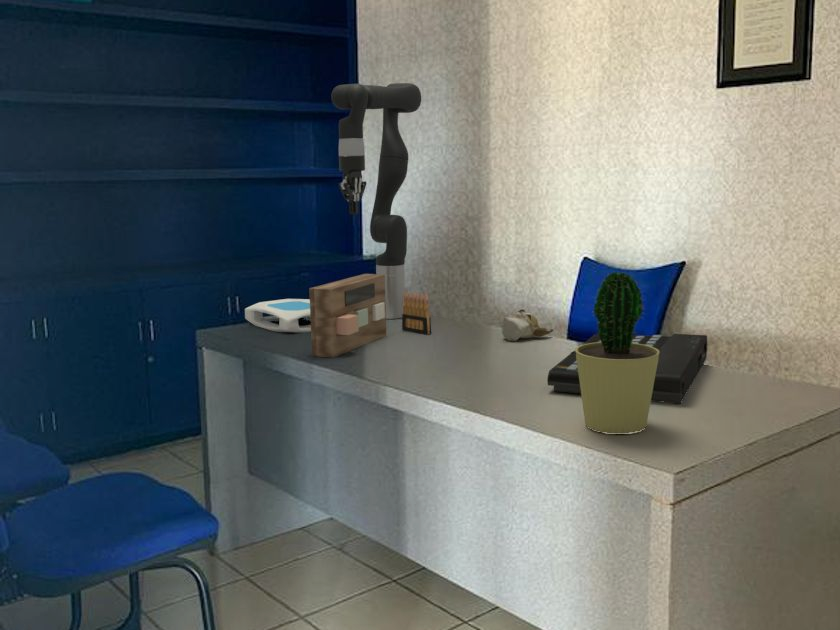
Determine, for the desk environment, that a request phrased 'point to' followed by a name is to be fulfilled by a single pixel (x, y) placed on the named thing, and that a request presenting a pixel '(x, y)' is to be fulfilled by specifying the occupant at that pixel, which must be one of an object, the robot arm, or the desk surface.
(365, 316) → the sage key
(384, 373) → the desk surface
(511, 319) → the ceramic sculpture
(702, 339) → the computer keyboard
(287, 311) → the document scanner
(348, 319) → the terracotta key
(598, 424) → the potted cactus
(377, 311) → the cream key
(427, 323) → the ammunition clip
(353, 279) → the keypad console
